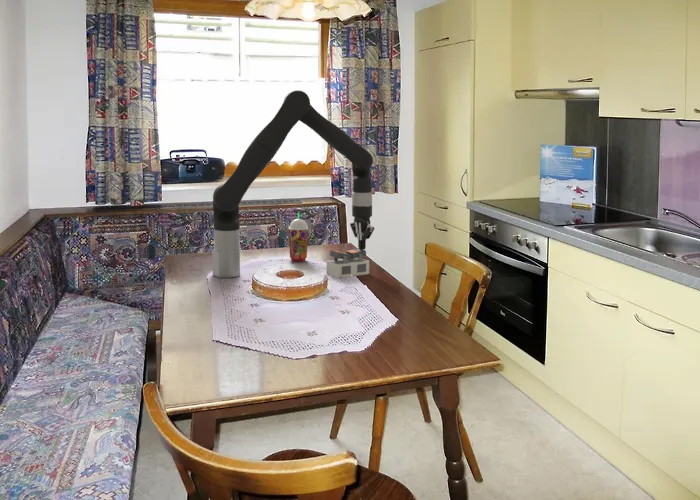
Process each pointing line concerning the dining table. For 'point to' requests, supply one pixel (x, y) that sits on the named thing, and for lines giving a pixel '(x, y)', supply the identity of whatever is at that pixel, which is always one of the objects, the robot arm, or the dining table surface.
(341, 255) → the rocker
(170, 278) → the dining table surface
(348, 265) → the rocker switch box
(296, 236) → the smoothie
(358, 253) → the rocker
